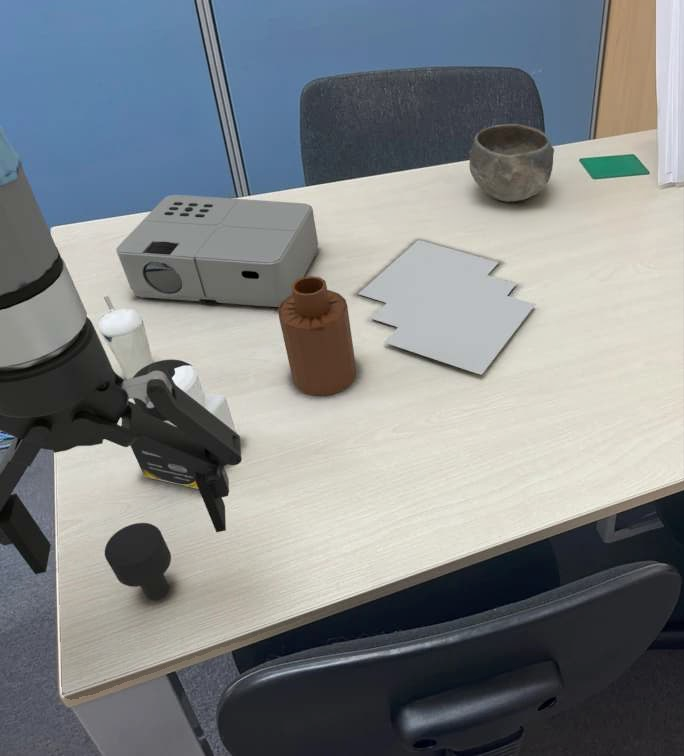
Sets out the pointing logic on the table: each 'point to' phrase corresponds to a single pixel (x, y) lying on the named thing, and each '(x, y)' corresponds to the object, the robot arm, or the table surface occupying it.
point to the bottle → (317, 338)
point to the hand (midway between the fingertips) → (134, 538)
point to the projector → (220, 250)
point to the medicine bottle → (157, 465)
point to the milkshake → (126, 338)
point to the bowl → (511, 161)
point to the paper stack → (447, 306)
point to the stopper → (140, 558)
